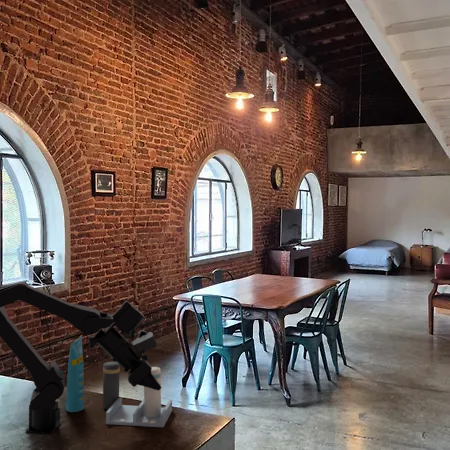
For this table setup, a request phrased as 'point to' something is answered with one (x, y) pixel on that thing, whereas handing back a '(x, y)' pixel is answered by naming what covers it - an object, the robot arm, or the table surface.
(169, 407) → the slot rack
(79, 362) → the tube
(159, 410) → the white bottle
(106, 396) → the grey bottle
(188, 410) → the table surface
